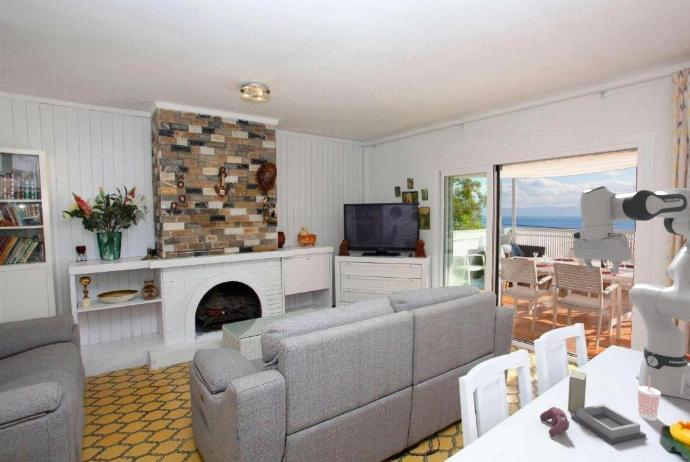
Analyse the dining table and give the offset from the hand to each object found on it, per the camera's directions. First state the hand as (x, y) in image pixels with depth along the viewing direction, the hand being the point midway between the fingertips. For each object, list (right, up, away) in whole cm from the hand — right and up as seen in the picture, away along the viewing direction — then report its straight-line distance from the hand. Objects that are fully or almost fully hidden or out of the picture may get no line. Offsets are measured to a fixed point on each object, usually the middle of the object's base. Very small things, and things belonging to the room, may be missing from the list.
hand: (602, 272), depth 129 cm
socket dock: (-8, -47, -13) cm, 50 cm away
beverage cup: (+10, -47, -7) cm, 49 cm away
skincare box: (-11, -47, -3) cm, 48 cm away
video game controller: (-25, -48, -13) cm, 55 cm away
